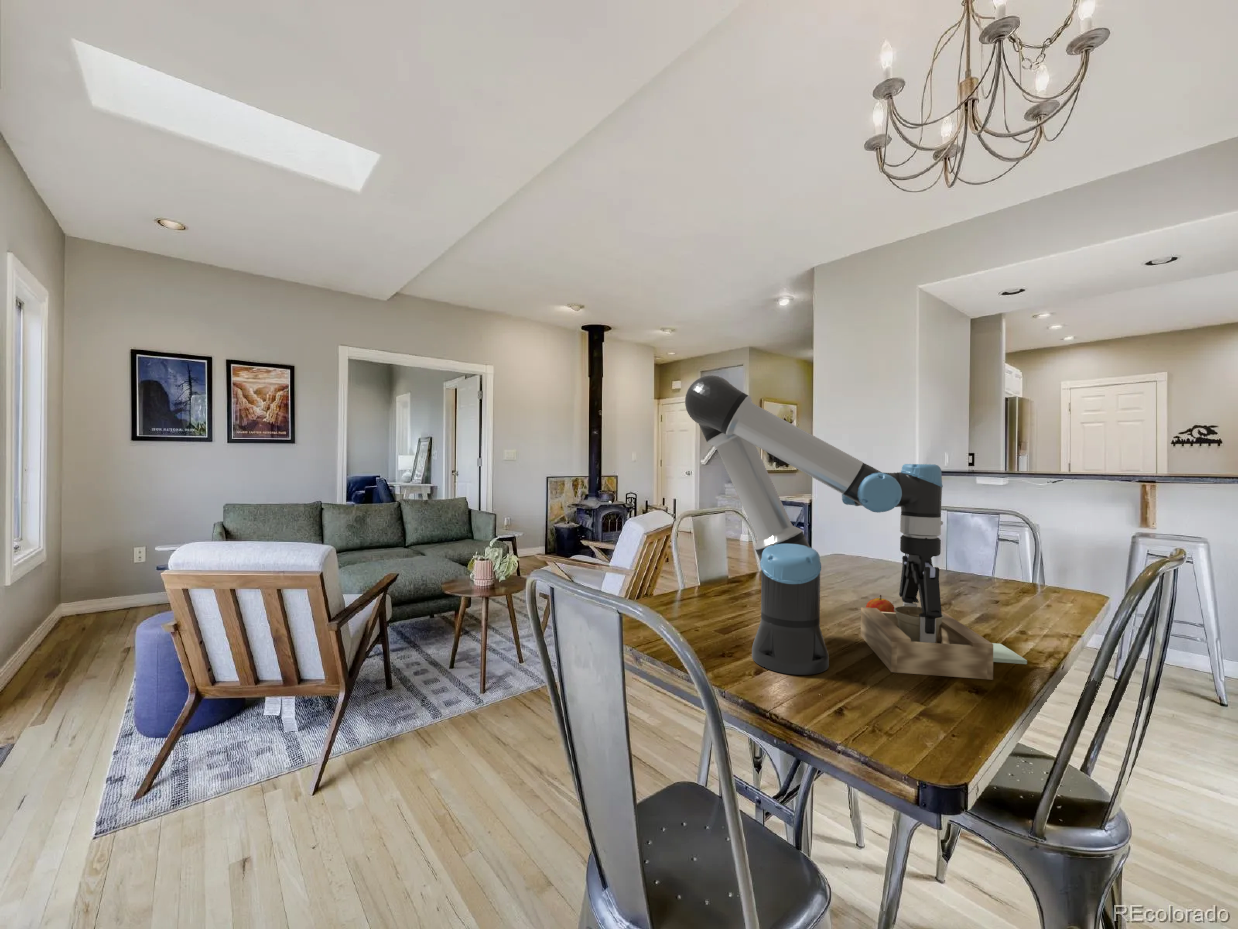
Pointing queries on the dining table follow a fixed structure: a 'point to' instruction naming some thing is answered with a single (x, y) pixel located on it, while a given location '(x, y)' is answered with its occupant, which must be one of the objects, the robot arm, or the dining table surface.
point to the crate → (928, 647)
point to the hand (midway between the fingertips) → (918, 639)
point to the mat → (1006, 655)
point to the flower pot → (912, 621)
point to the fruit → (881, 605)
